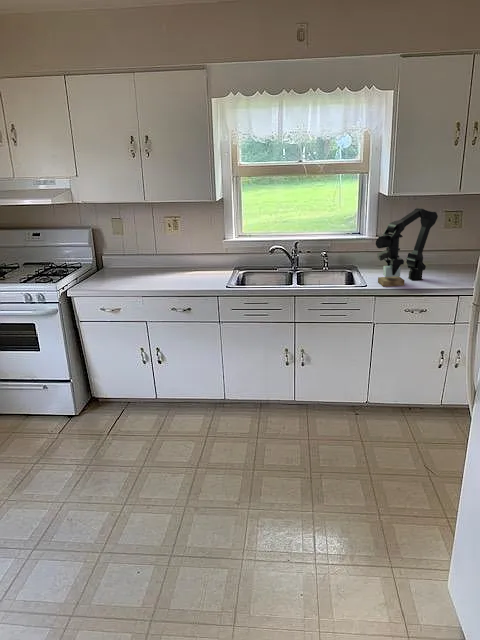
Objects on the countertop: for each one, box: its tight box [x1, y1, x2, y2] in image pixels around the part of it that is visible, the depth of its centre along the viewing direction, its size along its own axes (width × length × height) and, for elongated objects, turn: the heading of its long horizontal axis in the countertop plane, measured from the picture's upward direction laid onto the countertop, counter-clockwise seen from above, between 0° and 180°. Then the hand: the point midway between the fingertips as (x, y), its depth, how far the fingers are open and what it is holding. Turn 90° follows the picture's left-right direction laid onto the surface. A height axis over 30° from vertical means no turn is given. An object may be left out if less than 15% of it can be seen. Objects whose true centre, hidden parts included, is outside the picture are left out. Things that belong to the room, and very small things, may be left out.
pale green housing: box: [382, 265, 402, 277], centre depth 267 cm, size 6×8×6 cm
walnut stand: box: [377, 276, 406, 288], centre depth 269 cm, size 12×9×3 cm
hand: (391, 273), depth 268 cm, fingers closed on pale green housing, 6 cm apart
